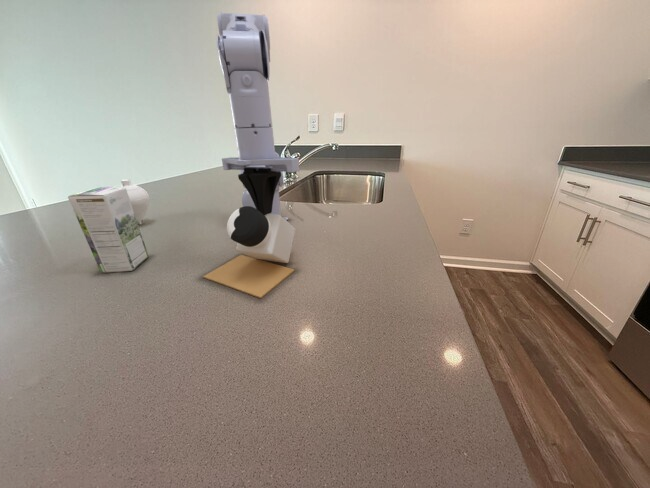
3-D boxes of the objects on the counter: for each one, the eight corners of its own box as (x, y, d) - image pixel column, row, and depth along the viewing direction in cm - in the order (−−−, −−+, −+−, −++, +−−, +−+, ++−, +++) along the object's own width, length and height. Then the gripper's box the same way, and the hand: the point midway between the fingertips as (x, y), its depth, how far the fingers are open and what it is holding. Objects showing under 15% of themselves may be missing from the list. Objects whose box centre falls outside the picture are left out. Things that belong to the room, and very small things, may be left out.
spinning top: (163, 219, 73) (150, 176, 68) (143, 230, 66) (127, 183, 61) (138, 219, 74) (123, 176, 68) (116, 229, 67) (97, 183, 62)
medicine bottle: (296, 227, 50) (266, 201, 39) (288, 263, 48) (255, 247, 37) (264, 225, 52) (227, 199, 41) (256, 259, 51) (215, 242, 40)
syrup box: (120, 258, 52) (90, 187, 46) (150, 256, 52) (125, 185, 46) (100, 273, 47) (64, 195, 41) (134, 271, 47) (103, 193, 41)
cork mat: (203, 277, 45) (203, 276, 45) (241, 255, 52) (241, 254, 52) (261, 298, 39) (260, 297, 39) (294, 270, 46) (294, 269, 46)
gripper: (200, 130, 40) (217, 215, 45) (274, 125, 33) (284, 225, 38) (234, 130, 45) (246, 205, 51) (304, 126, 39) (309, 213, 44)
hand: (265, 213), depth 45 cm, fingers closed, pressing on medicine bottle
